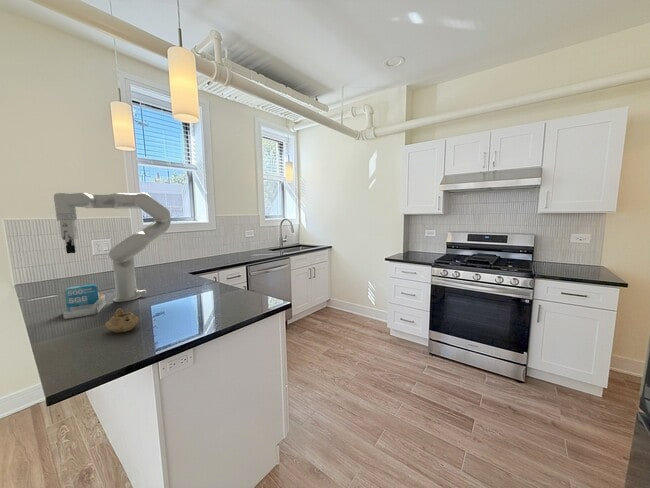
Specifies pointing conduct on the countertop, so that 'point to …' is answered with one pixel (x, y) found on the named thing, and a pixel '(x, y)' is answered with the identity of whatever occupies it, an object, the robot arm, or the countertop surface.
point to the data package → (81, 295)
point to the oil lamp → (122, 321)
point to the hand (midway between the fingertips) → (71, 253)
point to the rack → (86, 309)
